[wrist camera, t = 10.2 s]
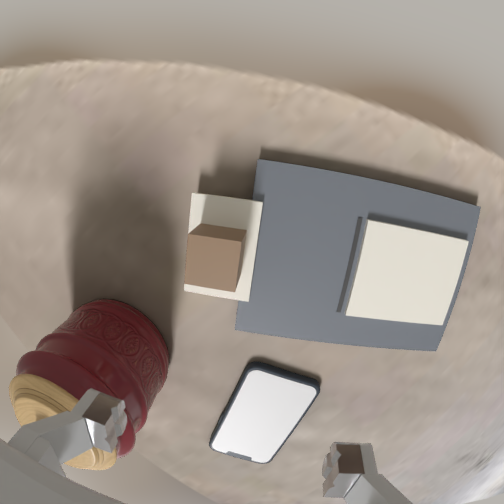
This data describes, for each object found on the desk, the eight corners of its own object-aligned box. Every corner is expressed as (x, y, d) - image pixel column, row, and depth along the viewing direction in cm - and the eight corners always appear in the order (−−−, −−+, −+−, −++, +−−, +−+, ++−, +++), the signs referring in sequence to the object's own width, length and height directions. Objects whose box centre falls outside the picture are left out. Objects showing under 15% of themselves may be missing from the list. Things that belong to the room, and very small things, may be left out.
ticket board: (475, 205, 26) (483, 208, 25) (432, 346, 31) (438, 354, 29) (258, 159, 27) (257, 158, 26) (236, 324, 32) (233, 332, 30)
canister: (82, 375, 36) (11, 465, 19) (68, 286, 32) (-39, 366, 16) (173, 400, 36) (124, 517, 19) (172, 307, 32) (90, 431, 15)
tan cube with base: (263, 201, 27) (260, 209, 23) (249, 299, 30) (243, 322, 25) (193, 192, 27) (177, 198, 23) (185, 288, 30) (171, 309, 26)
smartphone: (249, 354, 33) (207, 440, 38) (248, 362, 32) (205, 448, 36) (323, 378, 34) (268, 458, 38) (325, 387, 32) (268, 466, 36)
